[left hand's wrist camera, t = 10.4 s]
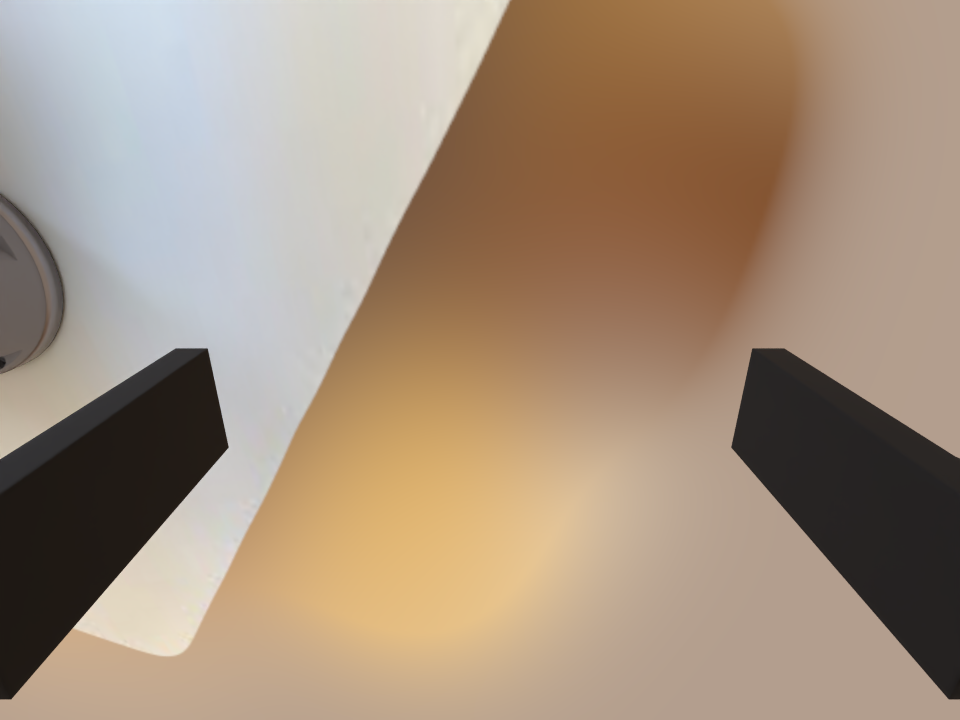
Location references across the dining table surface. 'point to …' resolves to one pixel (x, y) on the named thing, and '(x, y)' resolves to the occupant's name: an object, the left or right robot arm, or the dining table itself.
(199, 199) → the dining table surface
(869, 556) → the left robot arm
